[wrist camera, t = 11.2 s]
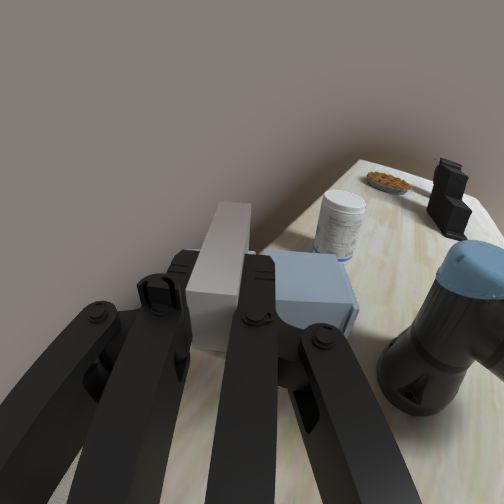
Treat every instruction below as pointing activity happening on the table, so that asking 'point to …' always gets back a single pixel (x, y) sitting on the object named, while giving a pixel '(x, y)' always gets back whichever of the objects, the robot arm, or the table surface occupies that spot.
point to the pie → (388, 183)
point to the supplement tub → (339, 224)
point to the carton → (313, 290)
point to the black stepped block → (449, 200)
